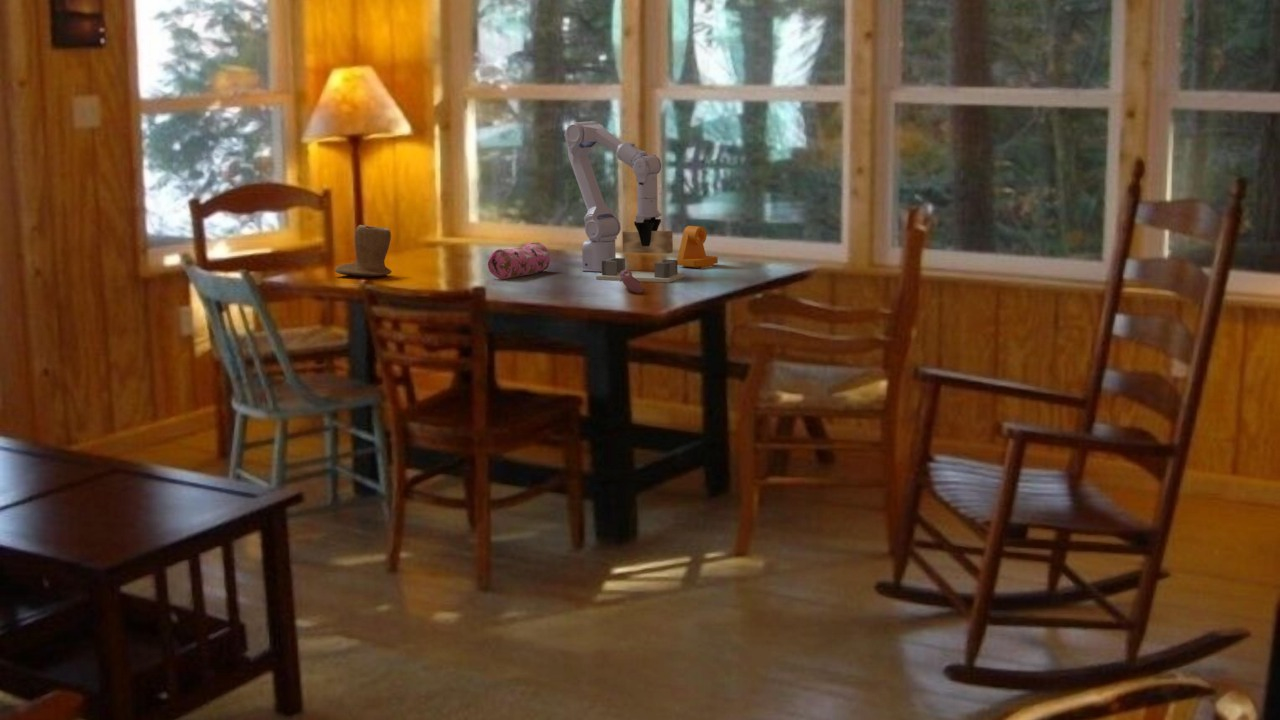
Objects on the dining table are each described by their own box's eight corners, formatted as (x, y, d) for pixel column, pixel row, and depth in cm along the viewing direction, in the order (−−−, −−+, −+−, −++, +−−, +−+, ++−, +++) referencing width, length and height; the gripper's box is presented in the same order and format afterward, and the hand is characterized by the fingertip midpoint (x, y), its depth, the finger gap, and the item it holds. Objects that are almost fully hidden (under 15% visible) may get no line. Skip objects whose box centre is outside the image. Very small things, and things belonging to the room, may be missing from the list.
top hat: (400, 274, 506) (399, 223, 503) (377, 280, 496) (374, 228, 493) (358, 272, 513) (356, 221, 510) (334, 277, 502) (331, 225, 499)
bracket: (696, 269, 510) (695, 229, 507) (677, 267, 514) (677, 227, 512) (719, 265, 518) (718, 225, 515) (700, 263, 522) (700, 224, 520)
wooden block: (622, 252, 499) (622, 231, 498) (627, 250, 502) (626, 230, 501) (668, 253, 494) (668, 232, 493) (672, 252, 497) (672, 231, 496)
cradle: (596, 279, 492) (595, 261, 491) (611, 273, 503) (611, 256, 502) (668, 282, 484) (668, 264, 483) (683, 276, 495) (683, 259, 494)
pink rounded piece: (626, 294, 474) (615, 271, 473) (641, 286, 474) (629, 263, 473) (629, 299, 465) (617, 276, 463) (644, 291, 465) (632, 268, 463)
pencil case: (525, 270, 513) (525, 240, 512) (552, 271, 509) (551, 241, 507) (485, 279, 495) (484, 248, 493) (512, 281, 491) (511, 250, 489)
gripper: (652, 200, 487) (652, 248, 490) (668, 195, 500) (669, 242, 503) (628, 200, 489) (629, 247, 492) (645, 195, 503) (646, 241, 505)
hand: (647, 245), depth 498 cm, fingers closed on wooden block, 3 cm apart
